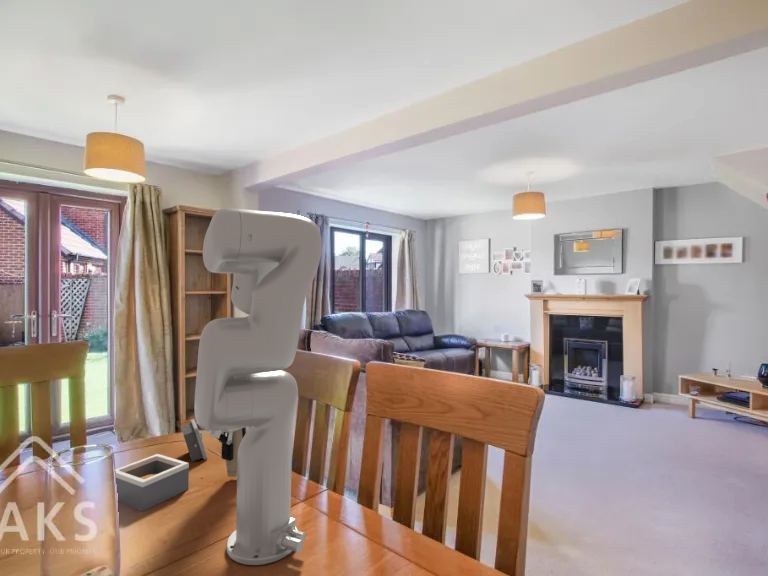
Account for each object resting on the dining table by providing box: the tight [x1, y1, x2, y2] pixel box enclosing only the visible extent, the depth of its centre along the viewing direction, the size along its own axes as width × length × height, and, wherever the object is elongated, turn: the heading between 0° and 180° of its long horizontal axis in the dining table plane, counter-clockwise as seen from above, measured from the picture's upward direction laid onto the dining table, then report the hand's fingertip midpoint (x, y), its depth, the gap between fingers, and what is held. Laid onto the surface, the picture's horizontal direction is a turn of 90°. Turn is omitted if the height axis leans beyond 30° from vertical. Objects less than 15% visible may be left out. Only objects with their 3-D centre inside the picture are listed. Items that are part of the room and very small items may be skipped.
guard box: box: [114, 453, 190, 512], centre depth 95 cm, size 11×11×6 cm
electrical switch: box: [180, 418, 208, 462], centre depth 116 cm, size 9×5×9 cm, turn 30°
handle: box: [225, 429, 243, 478], centre depth 102 cm, size 5×6×15 cm
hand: (234, 455), depth 102 cm, fingers closed on handle, 3 cm apart
